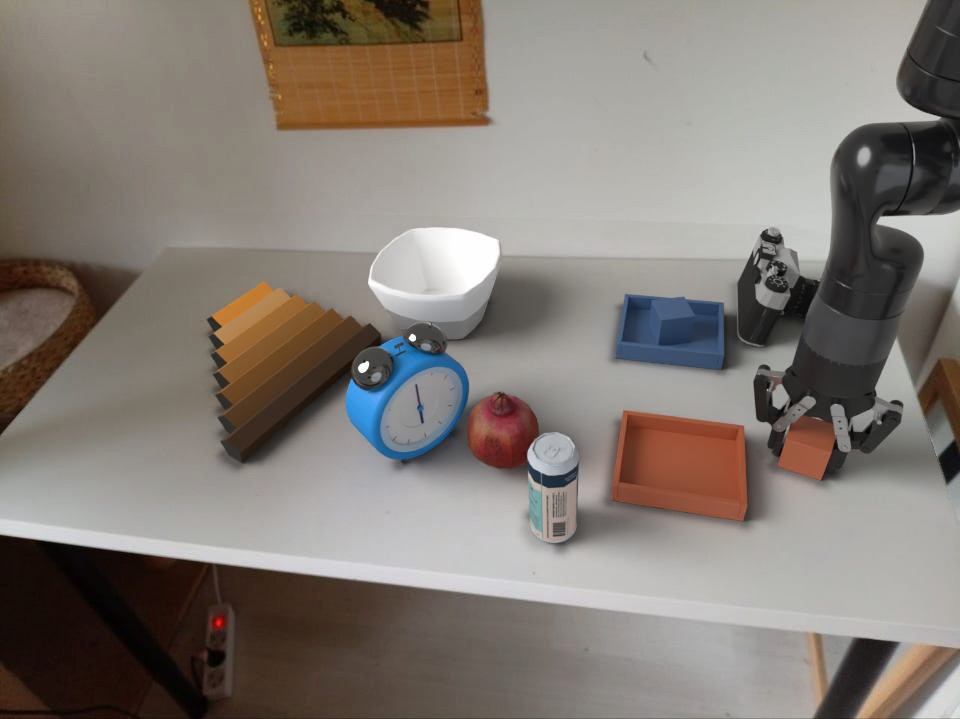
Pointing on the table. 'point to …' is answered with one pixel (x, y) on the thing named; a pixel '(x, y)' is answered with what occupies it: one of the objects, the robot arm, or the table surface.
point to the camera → (770, 288)
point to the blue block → (671, 321)
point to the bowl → (437, 278)
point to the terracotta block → (808, 447)
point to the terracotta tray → (681, 465)
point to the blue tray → (698, 353)
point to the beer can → (553, 487)
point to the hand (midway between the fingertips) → (803, 457)
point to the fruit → (502, 431)
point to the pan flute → (277, 361)
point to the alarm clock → (407, 392)
